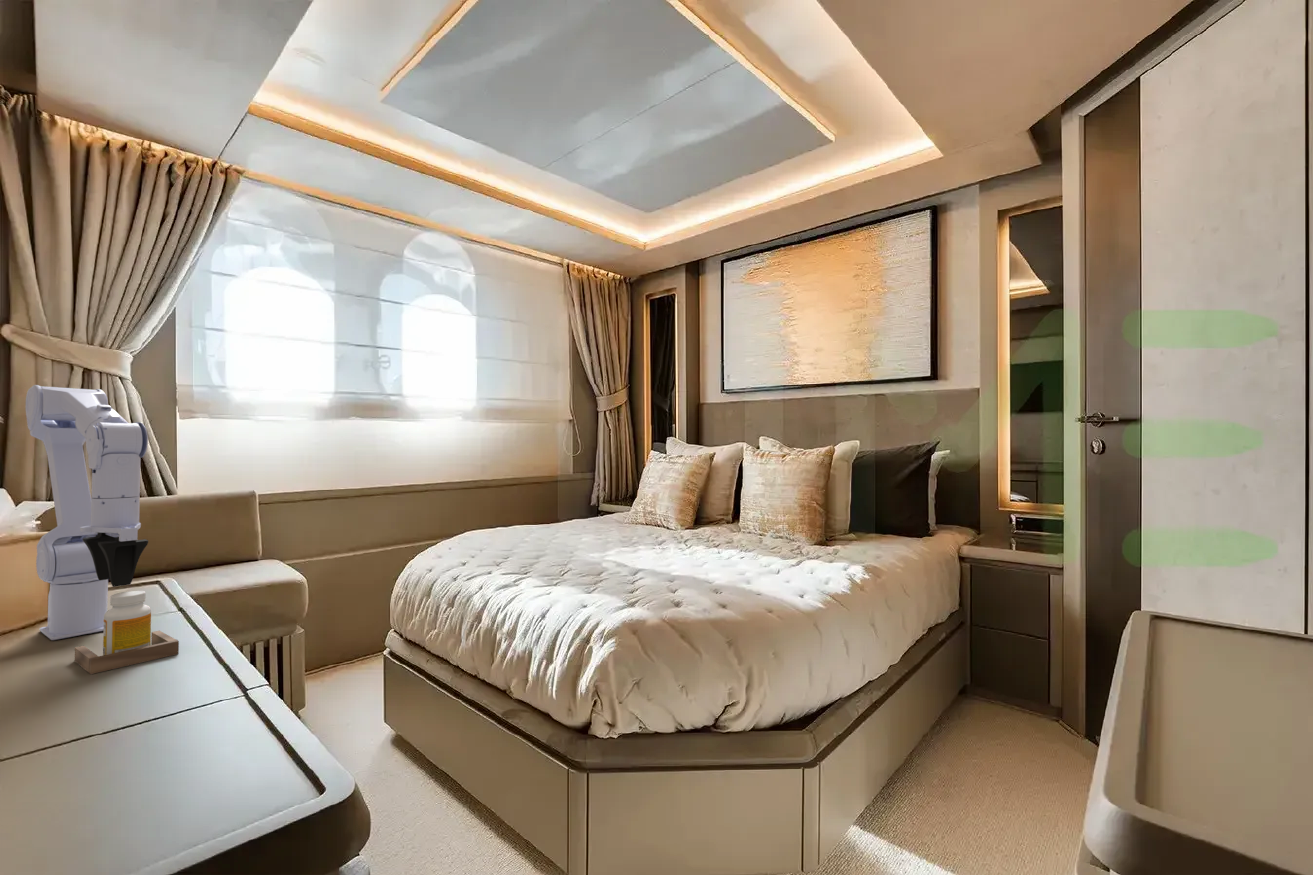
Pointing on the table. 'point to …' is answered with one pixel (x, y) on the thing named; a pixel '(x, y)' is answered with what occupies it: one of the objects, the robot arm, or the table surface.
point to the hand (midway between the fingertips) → (114, 582)
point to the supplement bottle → (127, 623)
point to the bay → (127, 654)
